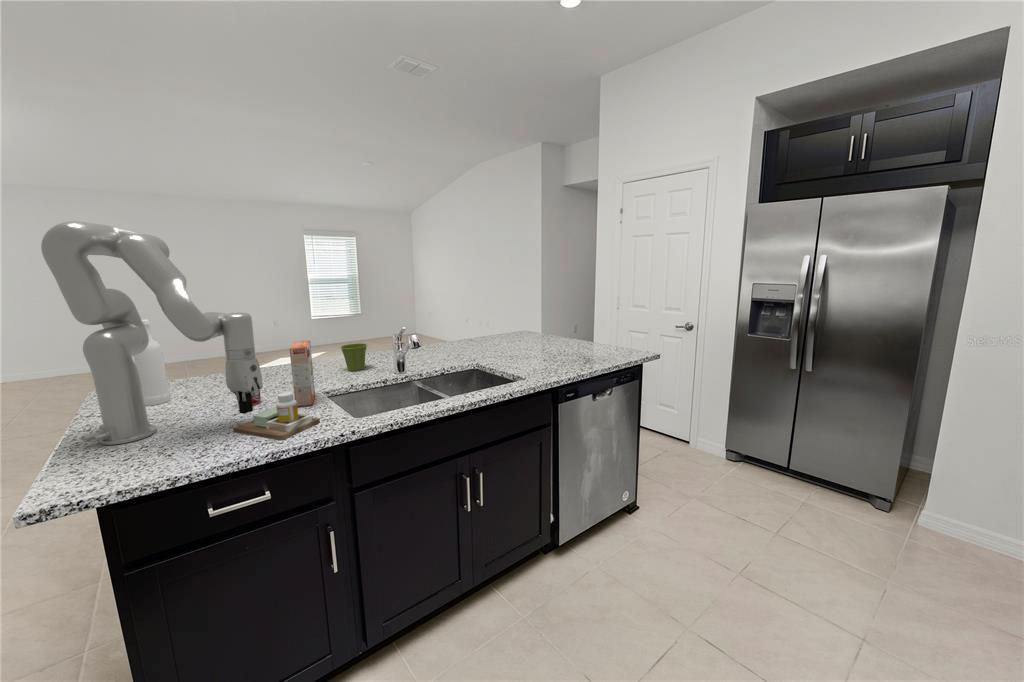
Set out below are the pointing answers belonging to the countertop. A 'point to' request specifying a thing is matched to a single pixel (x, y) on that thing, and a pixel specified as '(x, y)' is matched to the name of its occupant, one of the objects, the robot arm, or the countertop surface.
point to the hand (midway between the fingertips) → (246, 412)
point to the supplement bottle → (286, 408)
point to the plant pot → (354, 356)
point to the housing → (264, 417)
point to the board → (277, 427)
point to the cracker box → (302, 373)
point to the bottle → (152, 372)
